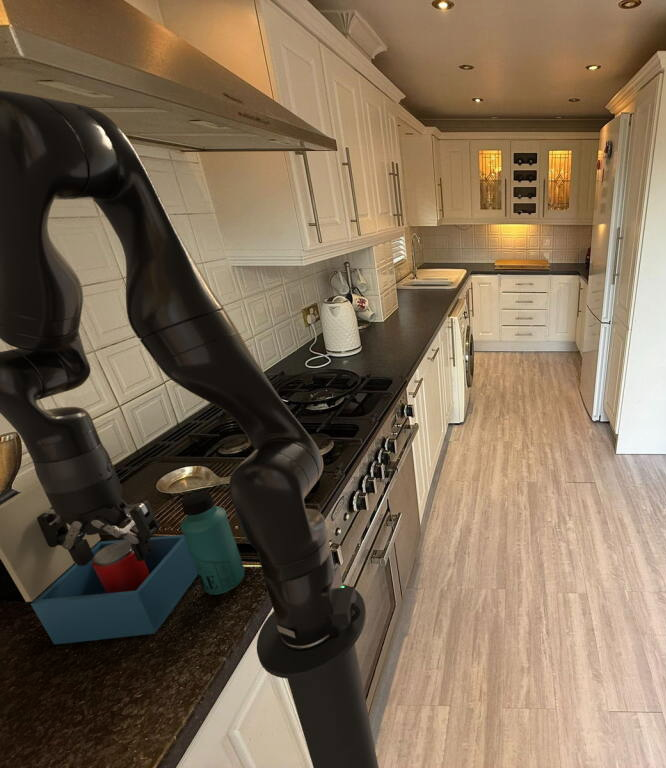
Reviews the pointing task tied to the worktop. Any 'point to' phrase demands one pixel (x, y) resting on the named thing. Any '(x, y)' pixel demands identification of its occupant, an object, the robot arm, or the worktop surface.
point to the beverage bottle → (211, 544)
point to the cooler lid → (31, 542)
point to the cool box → (117, 597)
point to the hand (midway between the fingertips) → (116, 559)
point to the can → (119, 568)
